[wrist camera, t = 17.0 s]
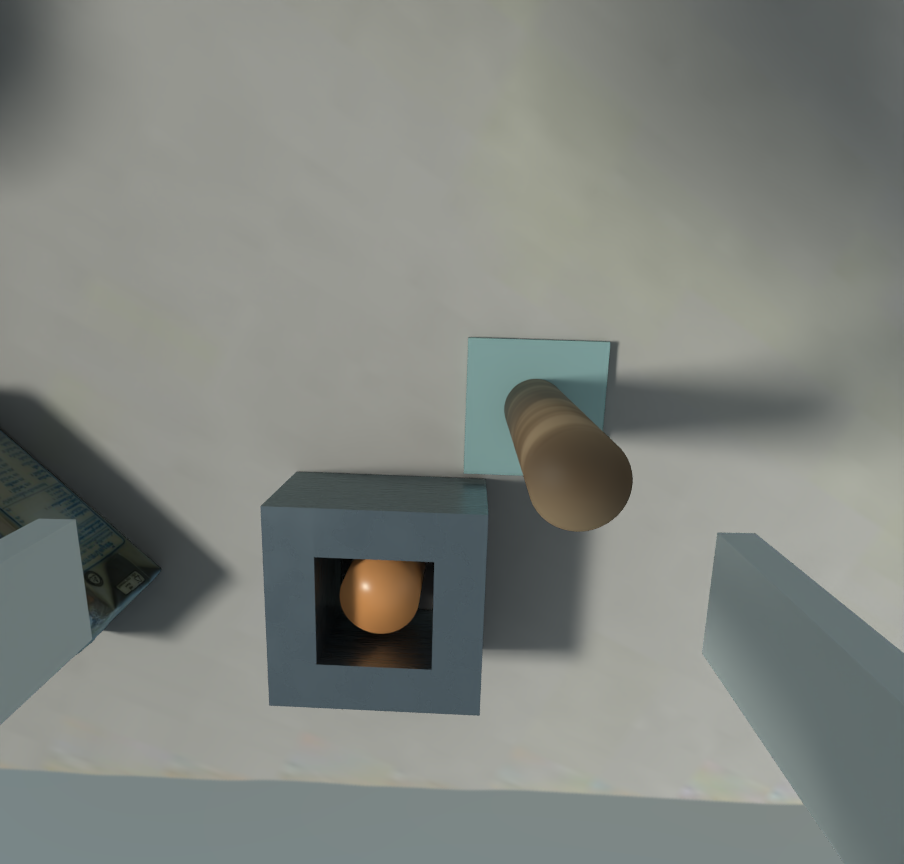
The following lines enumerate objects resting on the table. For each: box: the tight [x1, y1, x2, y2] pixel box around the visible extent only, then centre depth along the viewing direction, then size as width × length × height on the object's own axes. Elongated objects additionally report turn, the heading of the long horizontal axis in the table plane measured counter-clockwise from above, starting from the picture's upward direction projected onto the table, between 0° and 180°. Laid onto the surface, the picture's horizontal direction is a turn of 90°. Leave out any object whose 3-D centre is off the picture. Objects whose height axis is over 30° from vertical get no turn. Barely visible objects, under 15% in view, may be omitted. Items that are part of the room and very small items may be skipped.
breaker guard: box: [261, 472, 488, 715], centre depth 38 cm, size 13×13×7 cm
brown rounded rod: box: [504, 379, 633, 532], centre depth 30 cm, size 4×4×16 cm
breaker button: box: [340, 559, 425, 634], centre depth 39 cm, size 5×5×5 cm
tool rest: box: [464, 337, 610, 476], centre depth 38 cm, size 9×9×1 cm
